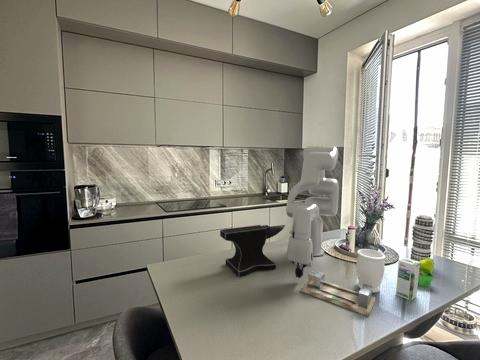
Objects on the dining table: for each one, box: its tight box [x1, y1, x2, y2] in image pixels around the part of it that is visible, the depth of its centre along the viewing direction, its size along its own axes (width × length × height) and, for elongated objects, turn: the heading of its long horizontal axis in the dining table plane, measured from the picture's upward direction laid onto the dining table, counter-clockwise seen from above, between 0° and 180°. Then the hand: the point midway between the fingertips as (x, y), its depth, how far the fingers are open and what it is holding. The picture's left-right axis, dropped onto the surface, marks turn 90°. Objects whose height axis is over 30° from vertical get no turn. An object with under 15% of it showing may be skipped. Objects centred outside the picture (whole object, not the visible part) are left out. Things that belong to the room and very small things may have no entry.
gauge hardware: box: [307, 282, 373, 309], centre depth 98 cm, size 22×8×5 cm, turn 53°
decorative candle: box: [409, 214, 435, 262], centre depth 130 cm, size 9×9×25 cm
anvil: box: [219, 224, 286, 279], centre depth 122 cm, size 35×15×20 cm, turn 117°
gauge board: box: [300, 280, 376, 317], centre depth 99 cm, size 25×12×2 cm, turn 53°
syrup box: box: [395, 257, 420, 302], centre depth 99 cm, size 6×6×14 cm
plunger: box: [307, 269, 326, 289], centre depth 102 cm, size 5×9×5 cm, turn 142°
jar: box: [356, 248, 386, 294], centre depth 105 cm, size 11×10×15 cm
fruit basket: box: [418, 257, 435, 288], centre depth 111 cm, size 11×9×11 cm
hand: (299, 276), depth 108 cm, fingers closed
